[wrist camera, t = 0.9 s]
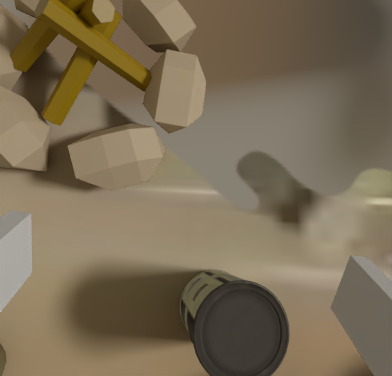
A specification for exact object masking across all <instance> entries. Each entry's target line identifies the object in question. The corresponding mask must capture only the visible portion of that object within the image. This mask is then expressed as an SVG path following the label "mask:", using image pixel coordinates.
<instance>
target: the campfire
mask: <svg viewBox="0 0 392 376" xmlns="http://www.w3.org/2000/svg"><path fill="white" fill-rule="evenodd" d="M15 5H16V9H17V10H19V11H21V12H24V13H26V14H28V15H30V16H32V17H35V18H37V19H36V21H35V22H34V23H33V25H32V26H31V27H30V29H28V27H27V25H25V24H24V23H23V22H22V21H21V20H19V19H18V18H17V17H16V16H14V15H13V14H12V13H10V12H9V11H8V10H7V9H5V8H4V7H3V6H2V5H0V167H2V168H13V169H24V170H35V171H46V172H47V165H48V151H49V137H50V126H49V125H48V124H47V123H46V122H45V121H44V119H43V118H45V119H47V120H48V121H50V122H52V123H54V124H57V125H61V124H62V123H63V121H64V119H65V117H66V115H67V114H68V112H69V110H70V108H71V107H72V105H73V103H74V101H75V100H76V98H77V96H78V94H79V93H80V91H81V89H82V87H83V85H84V84H85V82H86V80H87V78H88V76H89V75H90V73H91V71H92V70H93V68H94V66H95V64H96V62H97V61H98V60H99V61H100V62H101V63H103V64H104V65H106V66H107V67H109V68H110V69H112V70H113V71H115V72H116V73H117V74H119V75H120V76H122V77H123V78H125V79H126V80H128V81H129V82H131V83H132V84H133V85H135V86H136V87H138V88H139V89H141V90H142V91H145V96H144V102H143V104H144V106H145V107H146V109H147V110H148V112H149V113H150V115H151V116H152V118H153V119H154V121H155V122H156V123H157V124H159V125H160V126H161V127H162V128H163V129H164V130H165V131H167V132H168V133H172V132H174V131H177V130H180V129H183V128H185V127H187V126H188V125H190V124H191V123H192V122H193V121H195V120H196V119H197V118H199V117H200V116H201V115H202V109H203V102H204V95H205V88H206V81H205V78H204V75H203V72H202V69H201V66H200V64H199V61H198V58H197V56H196V55H191V54H187V53H182V52H181V50H182V49H183V47H184V45H185V44H186V42H187V41H188V39H189V37H190V36H191V34H192V33H193V31H194V29H195V28H196V26H195V24H194V23H193V21H192V19H191V18H190V16H189V15H188V13H187V12H186V11H185V10H184V8H183V7H182V6H181V4H180V3H179V2H178V0H123V19H124V20H125V22H126V23H127V24H128V25H129V26H130V27H131V28H132V30H133V31H134V32H135V33H136V34H137V35H138V36H139V37H140V39H141V40H142V41H143V42H144V43H145V44H146V45H147V46H148V47H150V48H151V49H153V50H154V51H155V52H164V54H163V55H162V56H161V57H160V58H159V59H158V61H157V62H156V63H155V64H154V66H153V67H152V68H151V69H150V70H147V69H146V68H145V67H143V66H142V65H141V64H140V63H138V62H137V61H136V60H134V59H133V58H132V57H131V56H129V55H128V54H127V53H125V52H124V51H123V50H122V49H120V48H119V47H118V46H116V45H115V44H114V43H113V42H111V41H110V38H111V36H112V34H113V32H114V31H115V29H116V27H117V25H118V24H119V22H120V20H121V18H122V17H121V16H120V15H119V14H118V13H117V12H116V11H115V7H114V6H113V5H112V3H111V2H110V0H15ZM58 34H60V35H62V36H63V37H65V38H67V39H68V40H69V41H71V42H72V43H74V44H75V45H77V46H78V47H77V49H76V51H75V53H74V54H73V56H72V58H71V60H70V62H69V63H68V65H67V67H66V69H65V71H64V72H63V74H62V76H61V78H60V80H59V82H58V83H57V85H56V87H55V89H54V91H53V93H52V94H51V96H50V98H49V100H48V102H47V103H46V105H45V107H44V109H43V111H42V113H41V115H42V117H43V118H42V117H41V116H40V115H39V114H38V113H37V111H36V110H35V109H34V108H33V107H32V106H31V104H30V103H29V102H28V101H27V100H26V99H25V98H24V97H22V96H20V95H18V94H16V93H14V92H12V89H13V87H14V86H15V84H16V82H17V80H18V79H19V77H20V75H21V74H22V72H23V71H24V72H26V71H27V70H28V69H29V68H30V67H31V66H32V64H33V63H34V62H35V61H36V60H37V59H38V57H39V56H40V55H41V54H42V53H43V51H44V50H45V49H46V48H47V47H48V46H49V44H50V43H51V42H52V41H53V40H54V38H55V37H56V36H57V35H58ZM68 150H69V154H70V157H71V161H72V165H73V169H74V173H75V177H76V178H77V179H80V180H82V181H85V182H88V183H91V184H93V185H96V186H99V187H101V188H104V189H107V190H110V191H112V190H116V189H120V188H123V187H127V186H131V185H134V184H138V183H142V182H146V181H149V179H150V178H151V176H152V174H153V173H154V171H155V169H156V168H157V166H158V164H159V163H160V161H161V159H162V158H163V155H164V152H165V148H164V146H163V144H162V142H161V140H160V138H159V137H158V134H157V132H156V130H155V128H154V127H150V126H145V125H140V124H135V123H130V124H126V125H121V126H117V127H113V128H108V129H104V130H99V131H95V132H93V133H91V134H89V135H87V136H85V137H83V138H81V139H80V140H78V141H76V142H74V143H72V144H70V145H68Z"/></svg>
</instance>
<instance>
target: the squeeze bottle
mask: <svg viewBox="0 0 392 376" xmlns="http://www.w3.org/2000/svg"><path fill="white" fill-rule="evenodd" d="M5 363H6V355H5V351H4V349H3V347H2V345H1V344H0V376H2V373H3V370H4V367H5Z"/></svg>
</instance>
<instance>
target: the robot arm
mask: <svg viewBox="0 0 392 376" xmlns="http://www.w3.org/2000/svg"><path fill="white" fill-rule="evenodd" d="M31 273H32V240H31V213H27V212H20V211H12V210H10V211H9V212H8V213H6V214H5V215H4V216H2V217H1V218H0V312H1V311H2V310H3V309H4V307H5V306H6V305H7V304H8V302H9V301H10V300H11V299H12V297H13V296H14V295H15V293H16V292H17V291H18V290H19V288H20V287H21V286H22V285H23V283H24V282H25V281H26V280H27V278H28V277H29V276H30V275H31ZM331 309H332V311H333V312H334V314H335V315H336V317H337V319H338V320H339V322H340V323H341V325H342V326H343V328H344V330H345V331H346V333H347V334H348V336H349V338H350V339H351V341H352V342H353V344H354V345H355V347H356V349H357V350H358V352H359V353H360V355H361V357H362V358H363V360H364V361H365V363H366V365H367V366H368V368H369V369H370V371H371V372H372V374H373V376H392V281H391V280H390V279H389V278H388V277H387V276H386V275H385V274H384V273H383V272H382V271H381V270H380V269H379V268H378V267H377V266H376V265H375V264H374V263H373V262H372V261H371V260H370V259H369V258H367V257H359V256H352V255H351V256H350V258H349V261H348V263H347V266H346V269H345V271H344V274H343V276H342V279H341V282H340V284H339V287H338V290H337V292H336V295H335V297H334V300H333V303H332V305H331Z"/></svg>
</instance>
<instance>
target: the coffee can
mask: <svg viewBox="0 0 392 376" xmlns="http://www.w3.org/2000/svg"><path fill="white" fill-rule="evenodd" d="M180 315H181V319H182V322H183V324H184V326H185V328H186V329H187V331H188V333H189V336H190V338H191V340H192V342H193V345H194V349H195V352H196V355H197V357H198V359H199V361H200V363H201V365H202V366H203V368H204V369H205V370H206V372H207V373H208V374H209V375H210V376H271V375H272V374H273V373H274V372H275V371H276V370H277V368H278V367H279V366H280V364H281V362H282V361H283V359H284V356H285V354H286V351H287V348H288V343H289V324H288V319H287V315H286V313H285V310H284V308H283V306H282V304H281V303H280V301H279V300H278V299H277V297H276V296H275V295H274V294H273V293H272V292H271V291H270V290H268V289H267V288H265V287H264V286H262V285H260V284H257V283H255V282H251V281H246V280H243V279H241V278H238V277H236V276H233V275H231V274H229V273H227V272H224V271H221V270H207V271H204V272H201V273H199V274H197V275H196V276H194V277H193V278H192V279H191V280H190V281H189V282H188V283H187V285H186V286H185V288H184V290H183V292H182V295H181V298H180Z"/></svg>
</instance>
